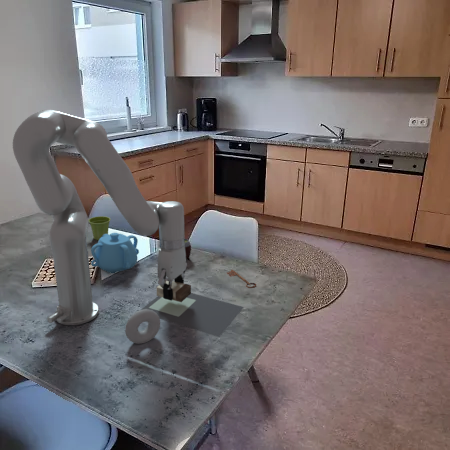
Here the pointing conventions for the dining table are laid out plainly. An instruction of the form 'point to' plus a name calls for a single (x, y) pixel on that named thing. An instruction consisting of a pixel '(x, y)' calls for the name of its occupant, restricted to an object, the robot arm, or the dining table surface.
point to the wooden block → (177, 291)
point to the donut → (137, 319)
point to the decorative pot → (115, 252)
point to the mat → (196, 313)
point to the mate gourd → (187, 249)
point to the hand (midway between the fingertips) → (173, 293)
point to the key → (241, 278)
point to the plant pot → (99, 226)
